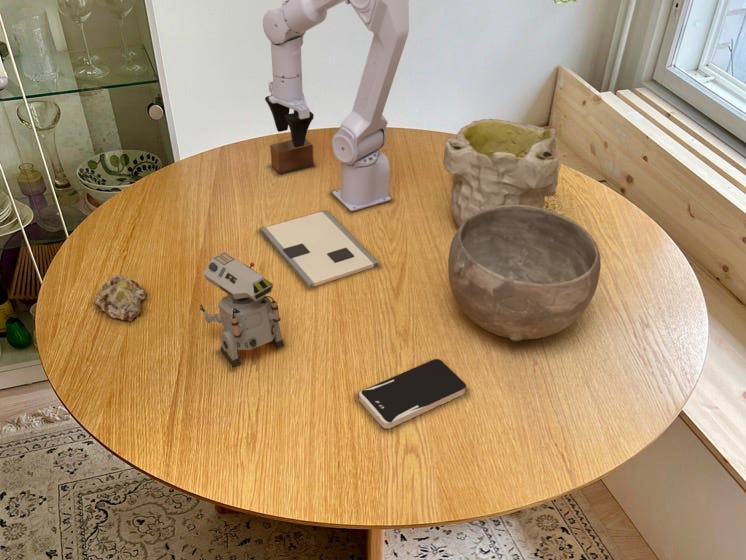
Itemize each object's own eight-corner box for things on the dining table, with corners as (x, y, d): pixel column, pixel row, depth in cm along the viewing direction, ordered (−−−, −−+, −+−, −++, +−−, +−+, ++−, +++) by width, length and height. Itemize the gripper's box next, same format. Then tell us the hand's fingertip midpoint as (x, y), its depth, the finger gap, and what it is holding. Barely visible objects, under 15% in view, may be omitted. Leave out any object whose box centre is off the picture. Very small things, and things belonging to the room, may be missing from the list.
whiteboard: (326, 213, 148) (326, 209, 148) (378, 266, 136) (378, 262, 136) (261, 232, 143) (260, 228, 142) (309, 288, 131) (309, 284, 130)
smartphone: (468, 386, 113) (385, 424, 107) (467, 393, 114) (385, 431, 108) (438, 357, 117) (357, 392, 111) (437, 363, 118) (356, 398, 112)
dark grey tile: (302, 244, 139) (302, 243, 139) (309, 252, 137) (309, 251, 137) (282, 250, 137) (282, 248, 137) (290, 258, 136) (290, 257, 135)
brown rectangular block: (305, 158, 164) (304, 136, 161) (313, 166, 162) (312, 144, 158) (271, 166, 161) (270, 144, 158) (279, 175, 159) (278, 153, 155)
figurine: (253, 314, 125) (245, 237, 115) (288, 352, 119) (283, 275, 108) (203, 333, 121) (190, 256, 111) (236, 374, 115) (226, 296, 104)
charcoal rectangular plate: (346, 248, 139) (346, 247, 138) (354, 257, 137) (354, 255, 136) (327, 254, 137) (327, 253, 137) (334, 263, 135) (334, 261, 135)
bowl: (491, 382, 116) (505, 305, 105) (413, 294, 131) (419, 219, 120) (613, 337, 124) (637, 262, 113) (527, 260, 139) (542, 187, 129)
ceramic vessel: (429, 140, 154) (521, 54, 137) (508, 223, 161) (604, 151, 144) (396, 191, 138) (495, 101, 122) (484, 281, 145) (590, 208, 128)
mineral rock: (85, 281, 126) (129, 260, 127) (98, 299, 130) (140, 278, 131) (98, 320, 120) (144, 298, 121) (111, 338, 123) (156, 316, 124)
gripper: (253, 63, 150) (258, 127, 159) (285, 90, 141) (288, 157, 151) (285, 57, 153) (288, 121, 162) (318, 83, 144) (319, 149, 154)
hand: (290, 138), depth 157 cm, fingers open, 7 cm apart
